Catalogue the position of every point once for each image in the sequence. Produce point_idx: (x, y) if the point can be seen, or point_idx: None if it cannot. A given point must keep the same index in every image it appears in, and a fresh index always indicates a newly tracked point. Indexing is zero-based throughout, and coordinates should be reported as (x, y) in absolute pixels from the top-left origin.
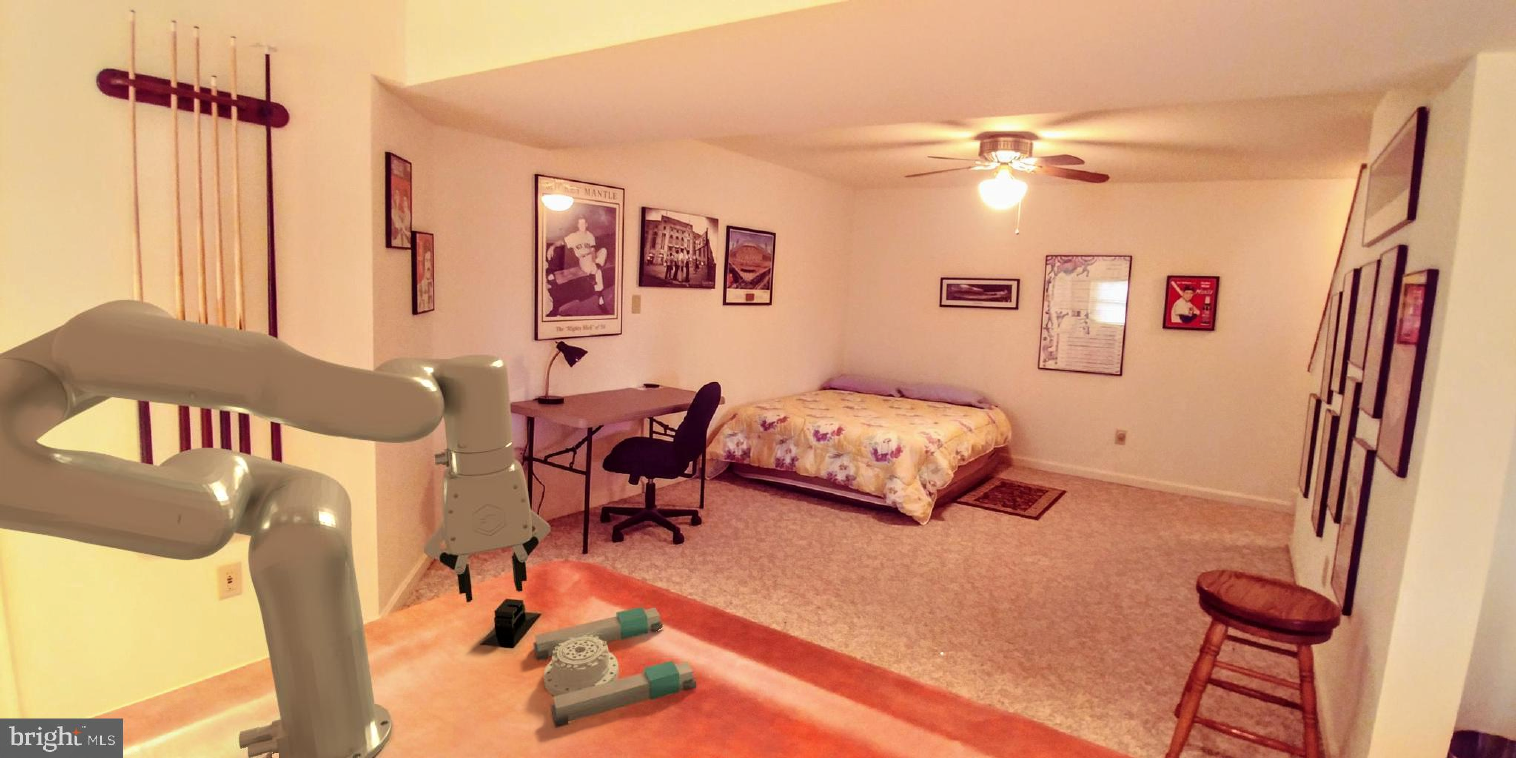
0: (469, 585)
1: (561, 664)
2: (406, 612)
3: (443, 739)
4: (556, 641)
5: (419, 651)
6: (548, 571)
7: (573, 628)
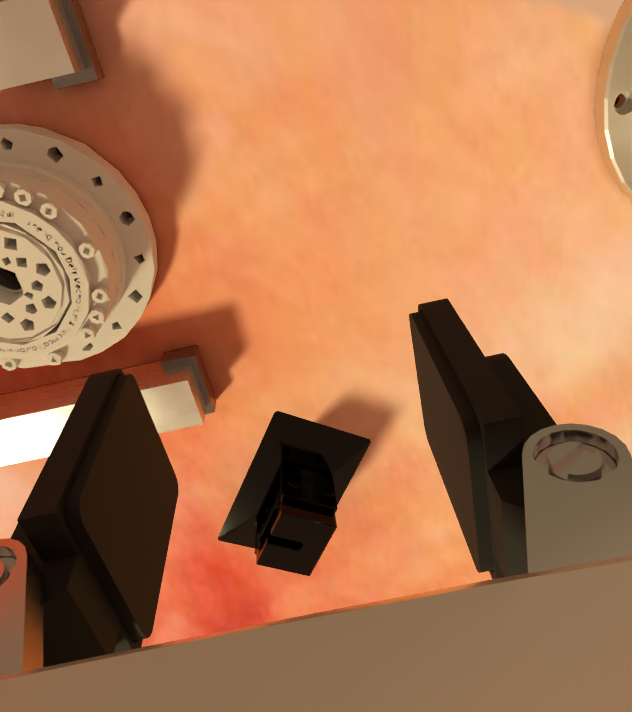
0: (448, 366)
1: (55, 212)
2: None
3: (440, 11)
4: None
5: None
6: None
7: None
